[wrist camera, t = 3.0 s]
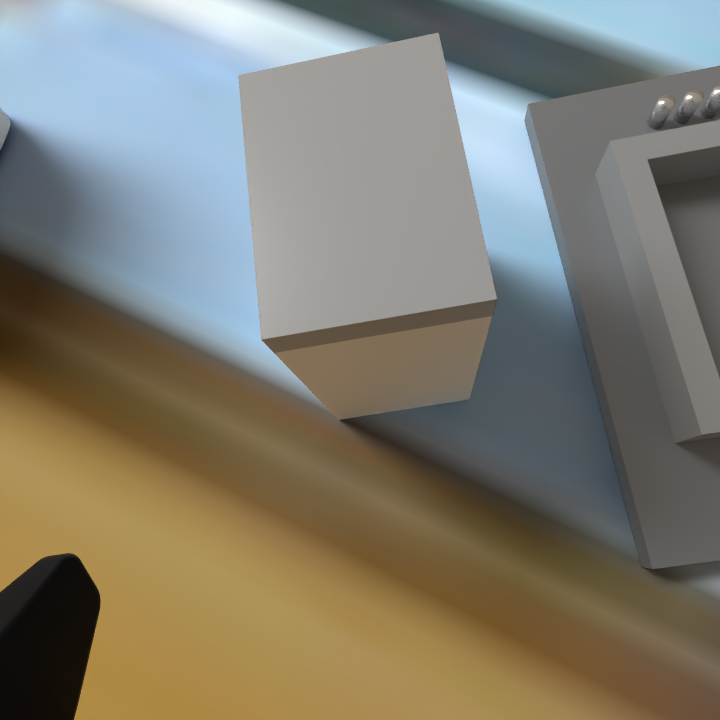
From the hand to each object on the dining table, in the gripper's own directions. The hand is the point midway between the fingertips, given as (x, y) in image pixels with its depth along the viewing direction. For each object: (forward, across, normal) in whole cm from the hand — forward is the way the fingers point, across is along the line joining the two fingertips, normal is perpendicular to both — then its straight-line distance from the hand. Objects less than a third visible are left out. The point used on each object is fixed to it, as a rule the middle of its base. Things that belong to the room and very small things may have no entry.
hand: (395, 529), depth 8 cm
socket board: (+14, -13, +4) cm, 20 cm away
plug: (+15, 0, +4) cm, 15 cm away
